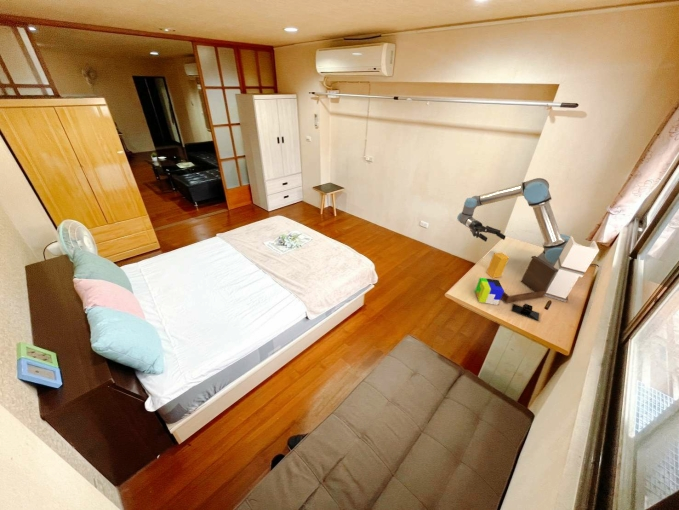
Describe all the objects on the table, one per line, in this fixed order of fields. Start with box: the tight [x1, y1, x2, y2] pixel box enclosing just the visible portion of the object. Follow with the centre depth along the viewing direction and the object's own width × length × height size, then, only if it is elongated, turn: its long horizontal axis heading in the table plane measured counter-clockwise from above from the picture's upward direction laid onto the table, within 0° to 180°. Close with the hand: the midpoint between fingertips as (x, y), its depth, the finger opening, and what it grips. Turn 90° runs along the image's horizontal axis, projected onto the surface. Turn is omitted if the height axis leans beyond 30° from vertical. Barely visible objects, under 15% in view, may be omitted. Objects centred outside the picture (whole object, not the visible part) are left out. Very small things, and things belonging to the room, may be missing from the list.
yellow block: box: [486, 252, 510, 279], centre depth 169 cm, size 6×6×15 cm
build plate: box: [511, 303, 540, 322], centre depth 143 cm, size 12×7×5 cm, turn 54°
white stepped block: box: [544, 235, 600, 303], centre depth 149 cm, size 11×11×35 cm
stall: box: [500, 255, 559, 304], centre depth 154 cm, size 27×16×19 cm, turn 103°
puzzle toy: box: [474, 277, 505, 306], centre depth 151 cm, size 10×10×10 cm
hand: (495, 238), depth 169 cm, fingers open, 13 cm apart
